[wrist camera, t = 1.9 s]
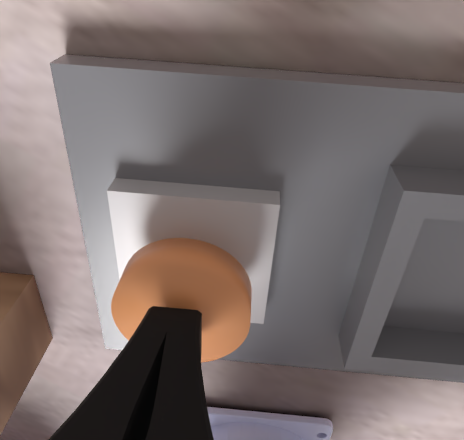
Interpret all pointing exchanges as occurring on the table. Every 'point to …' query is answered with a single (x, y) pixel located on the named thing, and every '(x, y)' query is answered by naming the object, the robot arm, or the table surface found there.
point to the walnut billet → (19, 338)
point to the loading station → (283, 201)
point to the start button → (187, 291)
